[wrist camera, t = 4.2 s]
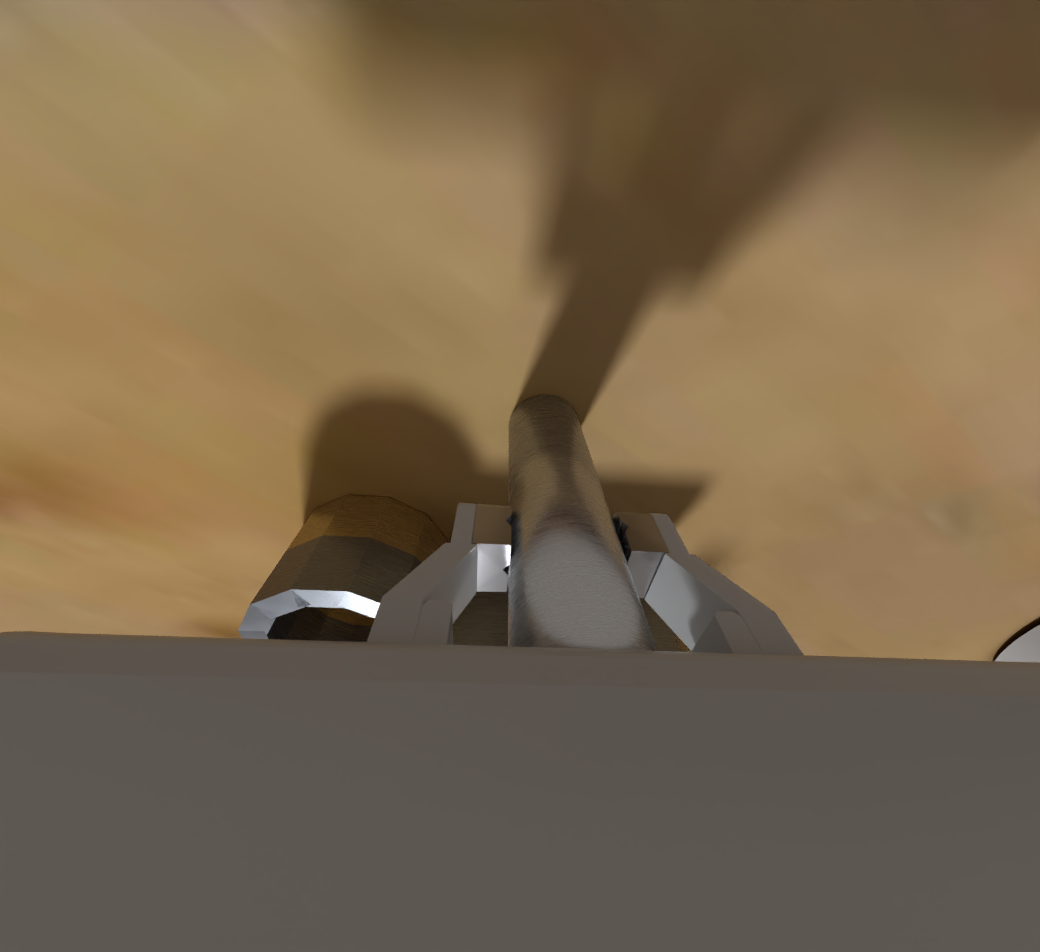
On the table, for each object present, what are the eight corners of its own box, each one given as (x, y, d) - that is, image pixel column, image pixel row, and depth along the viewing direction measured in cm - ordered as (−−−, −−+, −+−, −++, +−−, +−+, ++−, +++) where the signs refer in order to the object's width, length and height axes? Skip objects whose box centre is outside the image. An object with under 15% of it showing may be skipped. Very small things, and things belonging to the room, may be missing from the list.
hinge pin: (584, 397, 15) (723, 731, 5) (572, 459, 17) (660, 798, 7) (511, 391, 15) (514, 728, 5) (506, 455, 17) (502, 798, 7)
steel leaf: (662, 512, 19) (709, 605, 14) (625, 602, 23) (653, 696, 18) (288, 491, 18) (211, 586, 13) (322, 591, 22) (273, 688, 17)
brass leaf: (445, 500, 18) (423, 594, 14) (452, 685, 28) (441, 773, 24) (288, 491, 18) (211, 586, 13) (353, 683, 28) (323, 772, 23)
